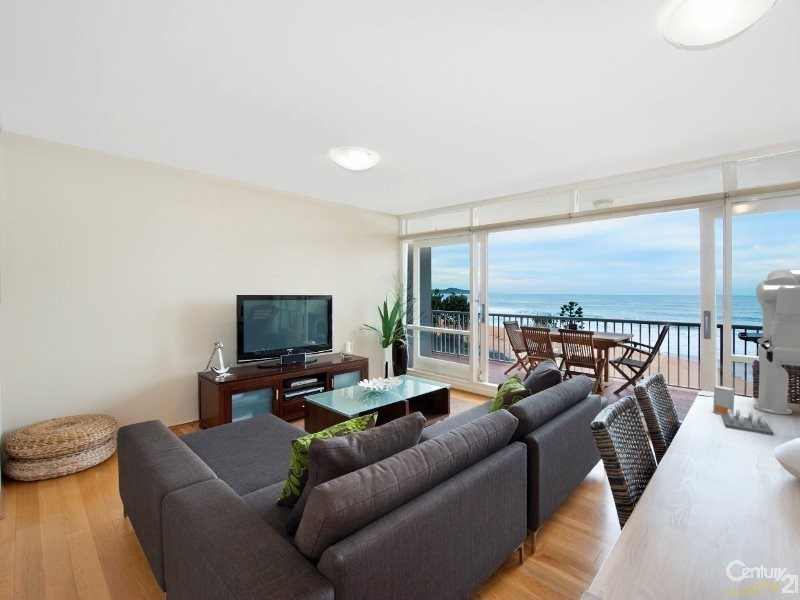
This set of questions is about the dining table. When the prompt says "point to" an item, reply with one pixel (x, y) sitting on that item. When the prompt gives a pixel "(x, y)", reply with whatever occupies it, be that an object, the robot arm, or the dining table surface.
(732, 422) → the peg board
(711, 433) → the dining table surface
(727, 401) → the skincare box
